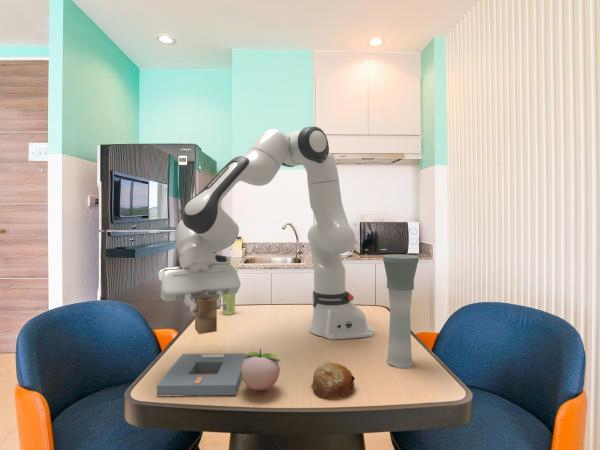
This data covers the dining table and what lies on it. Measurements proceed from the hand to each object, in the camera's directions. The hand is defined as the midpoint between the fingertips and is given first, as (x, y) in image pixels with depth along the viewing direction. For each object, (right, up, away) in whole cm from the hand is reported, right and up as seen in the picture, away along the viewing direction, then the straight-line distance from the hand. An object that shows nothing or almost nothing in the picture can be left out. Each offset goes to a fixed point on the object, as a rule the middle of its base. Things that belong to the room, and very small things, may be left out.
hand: (206, 309), depth 87 cm
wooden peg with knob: (0, -5, +1) cm, 5 cm away
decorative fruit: (+14, -18, -6) cm, 24 cm away
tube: (-6, -16, +58) cm, 60 cm away
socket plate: (0, -18, +1) cm, 18 cm away
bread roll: (+32, -18, -4) cm, 37 cm away
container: (+52, -18, +10) cm, 55 cm away
